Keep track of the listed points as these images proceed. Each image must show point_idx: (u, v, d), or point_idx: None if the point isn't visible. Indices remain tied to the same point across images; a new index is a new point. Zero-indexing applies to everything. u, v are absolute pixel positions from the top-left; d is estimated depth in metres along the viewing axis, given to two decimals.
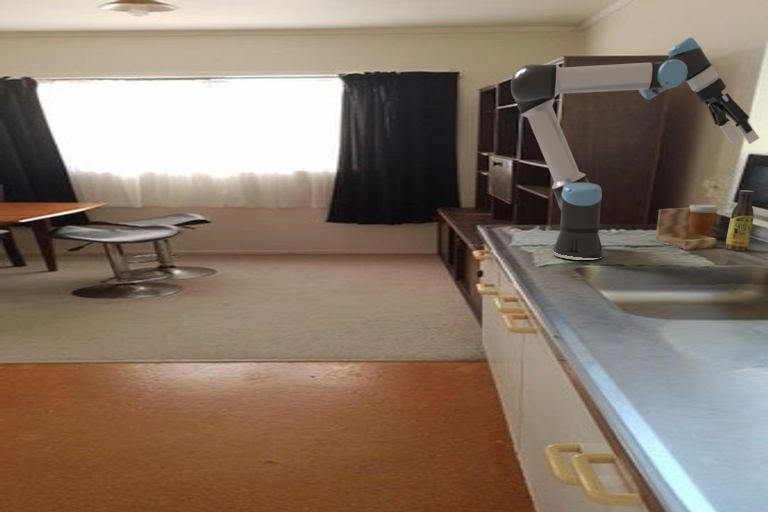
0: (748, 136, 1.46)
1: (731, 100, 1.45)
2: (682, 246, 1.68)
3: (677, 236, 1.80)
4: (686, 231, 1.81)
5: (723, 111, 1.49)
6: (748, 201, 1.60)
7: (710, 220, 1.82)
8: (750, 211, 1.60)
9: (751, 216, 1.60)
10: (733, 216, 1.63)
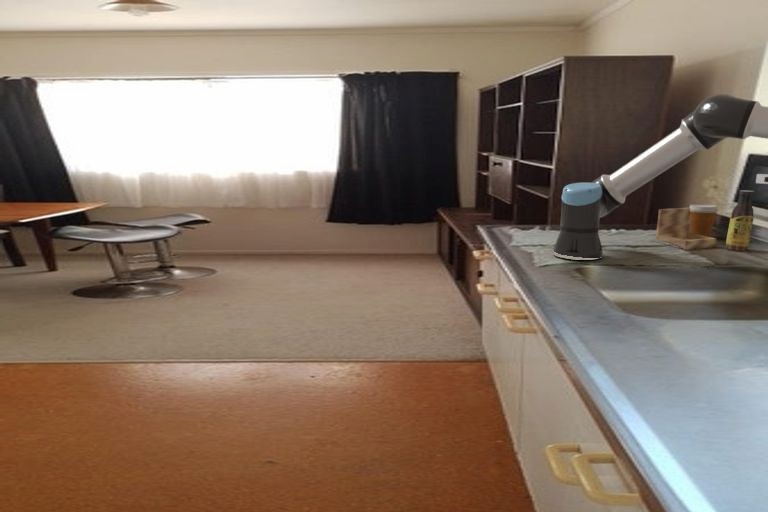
0: (763, 176, 1.47)
1: None
2: (682, 246, 1.68)
3: (677, 236, 1.80)
4: (686, 231, 1.81)
5: None
6: (748, 201, 1.60)
7: (710, 220, 1.82)
8: (750, 211, 1.60)
9: (751, 216, 1.60)
10: (733, 216, 1.63)
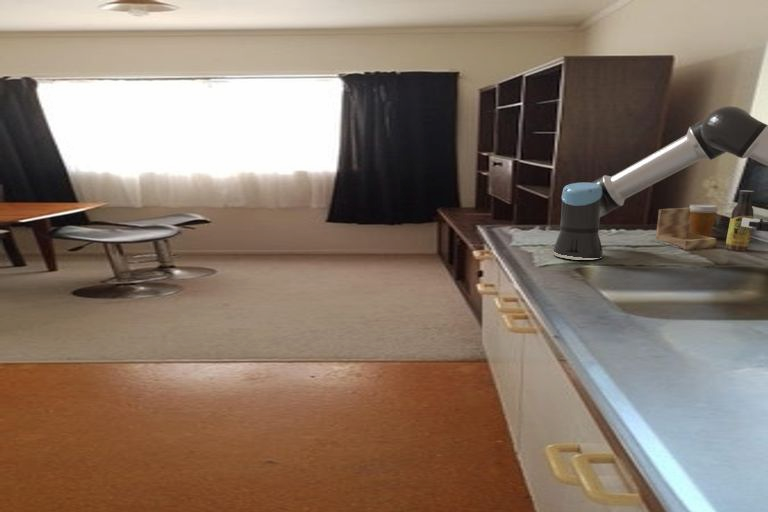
0: (748, 221, 1.53)
1: None
2: (682, 246, 1.68)
3: (677, 236, 1.80)
4: (686, 231, 1.81)
5: None
6: (748, 201, 1.60)
7: (710, 220, 1.82)
8: (750, 211, 1.60)
9: (751, 216, 1.60)
10: (733, 216, 1.63)
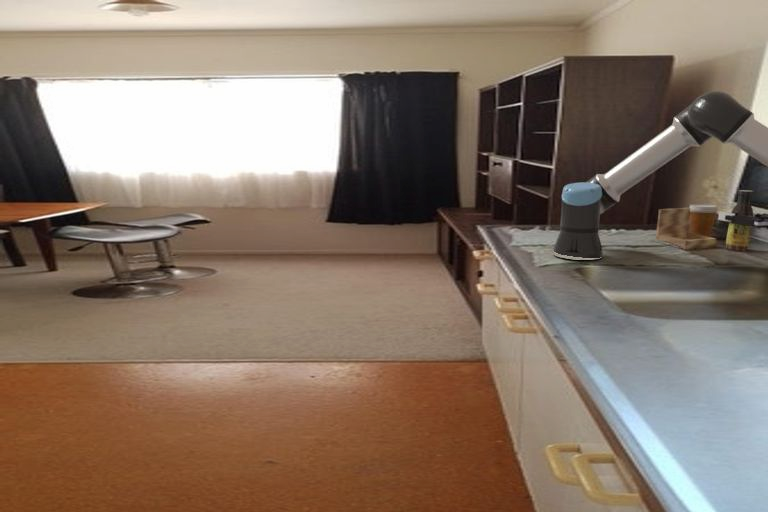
0: (724, 214, 1.65)
1: (752, 225, 1.53)
2: (682, 246, 1.68)
3: (677, 236, 1.80)
4: (686, 231, 1.81)
5: None
6: (747, 201, 1.60)
7: (710, 220, 1.82)
8: (749, 211, 1.60)
9: (751, 216, 1.60)
10: None
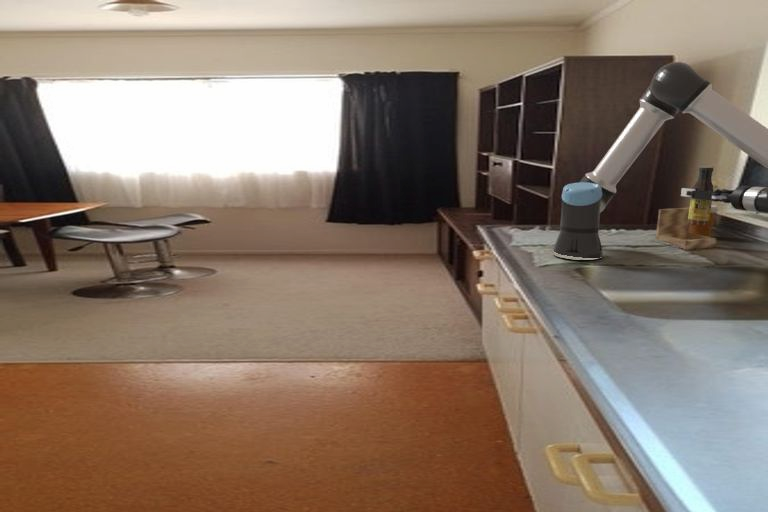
0: (686, 190, 1.71)
1: (709, 199, 1.59)
2: (682, 246, 1.68)
3: (677, 236, 1.80)
4: (686, 231, 1.81)
5: None
6: (707, 176, 1.66)
7: (710, 220, 1.82)
8: (709, 186, 1.66)
9: None
10: None
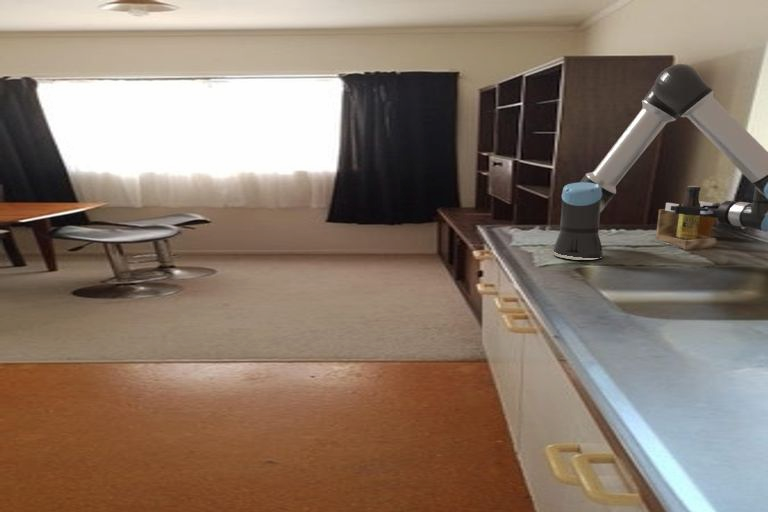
0: (670, 205, 1.71)
1: (698, 214, 1.60)
2: (682, 246, 1.68)
3: None
4: None
5: (702, 206, 1.62)
6: (694, 196, 1.69)
7: (710, 220, 1.82)
8: (697, 205, 1.69)
9: None
10: None
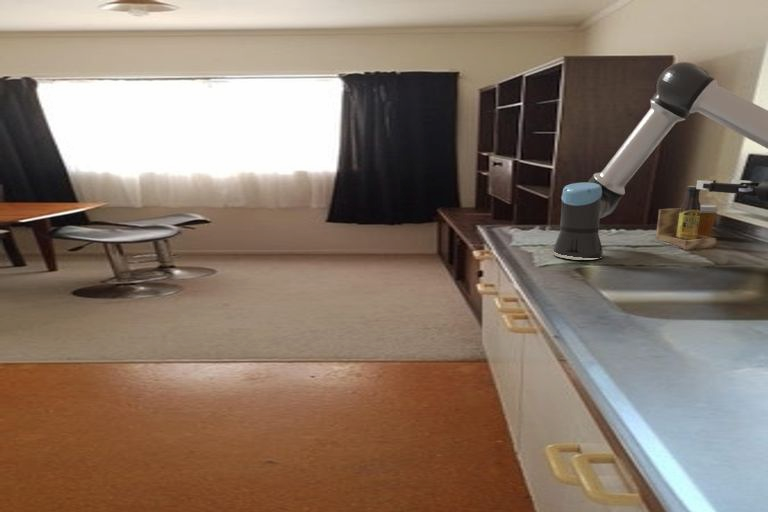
0: (703, 183, 1.55)
1: (735, 192, 1.45)
2: (682, 246, 1.68)
3: None
4: None
5: (740, 183, 1.47)
6: (695, 196, 1.69)
7: (710, 220, 1.82)
8: (697, 205, 1.69)
9: (698, 210, 1.69)
10: (682, 210, 1.72)
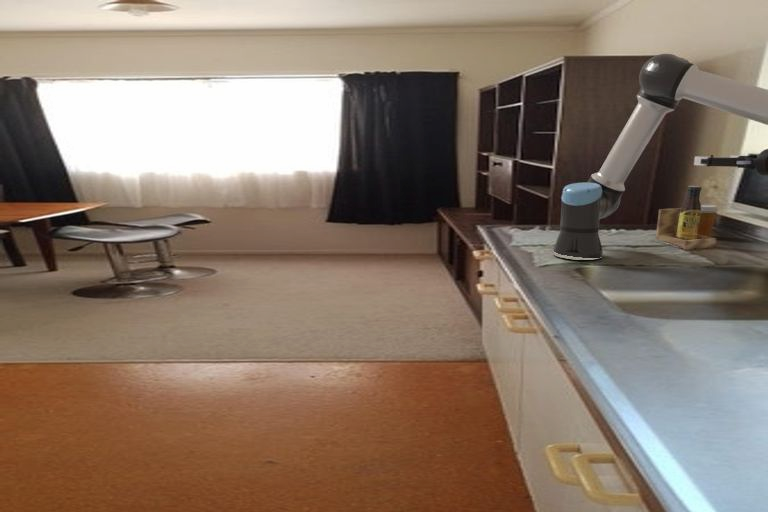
0: (700, 158, 1.53)
1: (733, 165, 1.42)
2: (682, 246, 1.68)
3: None
4: None
5: (738, 157, 1.44)
6: (695, 196, 1.69)
7: (710, 220, 1.82)
8: (697, 205, 1.69)
9: (698, 210, 1.69)
10: (682, 210, 1.72)
